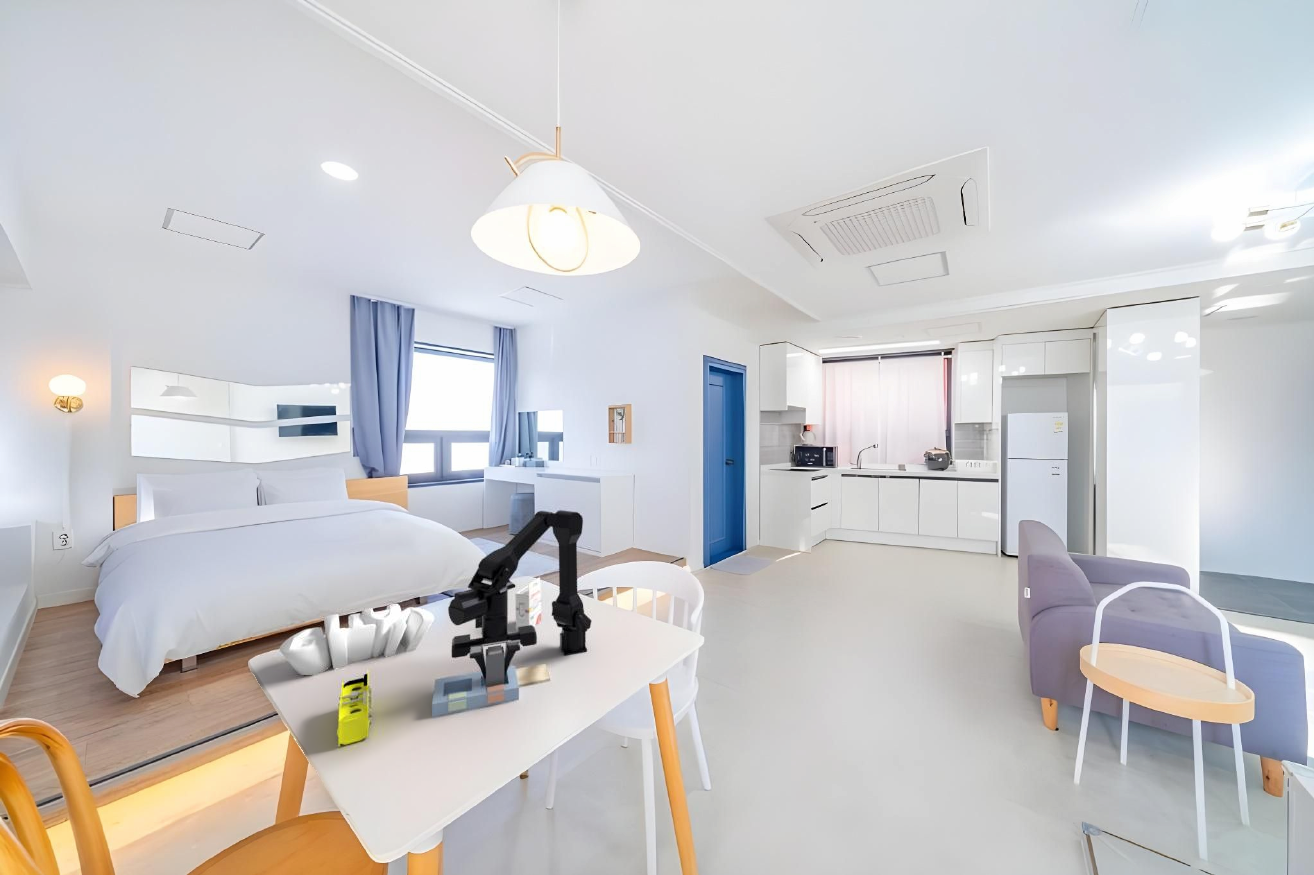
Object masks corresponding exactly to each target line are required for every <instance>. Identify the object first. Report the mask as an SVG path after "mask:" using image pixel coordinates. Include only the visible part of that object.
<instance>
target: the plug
mask: <svg viewBox="0 0 1314 875" xmlns="http://www.w3.org/2000/svg"><path fill="white" fill-rule="evenodd" d="M504 657H505V648H504V646H502V644H497V645H491V646H488V647H487V648H486V649H485V666H486V688H487V687H492V686H497V685H502V684H504Z"/></svg>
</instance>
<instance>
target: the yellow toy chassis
mask: <svg viewBox="0 0 1314 875" xmlns="http://www.w3.org/2000/svg"><path fill="white" fill-rule="evenodd" d="M369 672H370V670H369V669H367V673H364V674H363V677H360V678H357V679H356V678H355V679H351V680H349V681H347V682H345V683H344V680H343V681H342V682H341V689H340V696H339V697H338V700H339V702H338V705H337V706H338V712H337V715H338V725H337V726H338V727H337V729H336V730H337V731H336V735H337V737H338V739H337V740H338V743H337V744H338V747H341V745H345V746H346V745H349V744H353V743H355V742H356V743H357V742H361V741H362V740H363V739H364V738H367V739H369V728H370V724H372V710H371V709H372V688H371V687H370V684H369V683H370V682H369V680H370V679H369V678H370V677H369V676H370V675H369Z"/></svg>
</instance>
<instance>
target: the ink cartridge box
mask: <svg viewBox="0 0 1314 875" xmlns="http://www.w3.org/2000/svg"><path fill="white" fill-rule="evenodd" d="M535 584H536V585H535ZM541 621H542V584H541V577H538V578H536V579H534V580H533V581H532V582H529V583H528V585H526V586H525V587H523V588H521V589H520V590H518V591H517V592H515V631H518V627H522V626H528V625H533V626H534V628H535V627H536V626H537V625H538V624H539V623H540V622H541Z"/></svg>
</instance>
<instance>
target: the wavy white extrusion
mask: <svg viewBox="0 0 1314 875" xmlns="http://www.w3.org/2000/svg"><path fill="white" fill-rule="evenodd" d="M323 620H324V624H323V625H324V629H325V630H324V632H323V628H322V627H321V626H320V627H318V626H317V627H312V628H306V629H303V630H301V631H299V632H297V633H296V634H295V633H294V634H293V635H291V636H290V637H289V638H287V639H286V640H285V641H283V643H282V644H281V645H280V647H279V648H278V649H279V652H280V653H281V654H282V656H283V657H284V658H285V659H286V660H287V662H288V663H289V664H290V665H291V666H292V668H293V669H294V670H295V671H296V672H297V674H298V675H299V674H300V675H299V676H302V675H311V676H314V675H313V674H315V675H318V674H317V673H319V672H322V671H324V670H326V669H327V668H329V667H330V666H331V665H332V666H331V667H332V669H333V670H334V669H336V668H339V669H342V668H344V667H343V666H345V667H347V666H348V665H349V664H352V663H351V662H353V663H356V662H355V661H357V662H361V661H364V659H365V660H368V658H369V659H371V658H378V657H380V656H381V655H380V654H382V653H383V654H384V655H383V654H382V655H383V657H384V656H389V657H392V656H395V654H396V652H397V649H398V647H399V645H400V644H401V645H403V646H404V648H405V653H409V652H412V651H415V650H417V648H418V646H419V644H420V643H421V641H422V639H423V638H424V636H425V635H426V634H427V632H428V630H429V629H430V628H431V625H432V624H433V622H434V620H435V616H434V614H433V613H432V612H430V611H428V610H426V609H423V608H420V607H413V606H411V607H410V606H408V607H407V608H405V609H403V610H402V609H401V606H400V604H398V603H392V604H388V605H387V606H386V609H383V610H378V611H374V610H373V607H372V608H371V607H369V608H364V609H363V610H362V611H361V613H360V612H359V613H353V614H349V615H348V620H347V621H348V627H340V625H341V624H340V616H339V614H338V613H337V614H335V613H334V614H329V615H326V616H325V617H324V619H323ZM379 655H380V656H379ZM377 656H378V657H377ZM370 657H371V658H370ZM346 665H347V666H346ZM331 667H330V668H331ZM341 667H342V668H341ZM330 668H329V669H330ZM336 670H337V669H336ZM326 671H327V670H326ZM324 672H325V671H324ZM322 673H323V672H322ZM319 674H320V673H319Z"/></svg>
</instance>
